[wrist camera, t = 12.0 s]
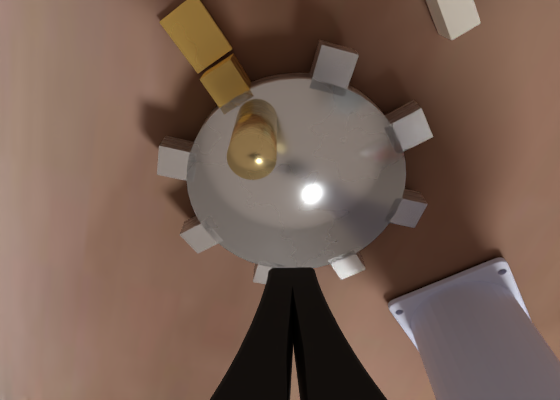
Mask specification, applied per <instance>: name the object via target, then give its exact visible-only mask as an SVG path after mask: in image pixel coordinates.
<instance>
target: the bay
mask: <svg viewBox="0 0 560 400" xmlns="http://www.w3.org/2000/svg"><path fill="white" fill-rule="evenodd" d="M426 3H427V5H428V8H429V11H430V13H431V16H432V19H433V21H434V24H435V26H436V29H437V32H438V34H439V35H441V36H443V37H445V38H447V39H449V40H454V39H455V38H457V37H459V36H460V35H462V34H464V33H465V32H467V31H469V30H470V29H472V28H474V27H475V26H477V25H479V24H480V23H481V22H480V19H479V16H478V13H477V9H476V6H475V3H474V0H426Z"/></svg>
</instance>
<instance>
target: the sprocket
mask: <svg viewBox="0 0 560 400" xmlns="http://www.w3.org/2000/svg"><path fill="white" fill-rule="evenodd" d="M358 56H359V54H358V53H357V52H356V51H355V50H354V49H352V48H349V47H345V46H341V45H337V44H334V43H330V42H326V41H323V40H319V42H318V45H317V49H316V52H315V56H314V59H313V63H312V66H311V70H310V73H284V74H277V75H272V76H268V77H264V78H261V79H258V80H256V81H253V82H251V80H250V79H249V77H248V76H247V74H246V73H245V71H244V69H243V68H242V66H241V65H240V63H239V62H238V60H237V58H236V57H235V55H234V54H231V55H230V56H228V57H227V58H225V59H224V60H222V61H221V62H219V63H218V64H216V65H215V66H213V67H212V68H210V69H209V70H207V71H206V72H204V74H203V75H202V77H201V78H200V81H201V82H202V84H203V85H204V87H205V88H206V90H207V91H208V92H209V94H210V95H211V97H212V98H213V99H214V101H215V102H216V104H217V106H216V107H215V108H214V109H213V111H212V112H211V113H210V115H209V116H208V117H207V119H206V120H205V122H204V124H203V125H202V127H201V129H200V131H199V133H198V135H197V137H196V139H195V141H194V142H193V141H188V140H184V139H179V138H175V137H170V136H165V137H164V139H163V141H162V142H161V144H160V145H159V154H158V167H157V175H161V176H166V177H171V178H176V179H181V180H186V181H187V189H188V194H189V198H190V202H191V205H192V207H193V210H194V212H195V214H196V216H194V217H192V218H190V219H188V220H186V221H185V222H184V224H183V227H182V229H181V232H180V236H181V237H182V238H183V239H184V240H185V241H186V242H187V243H188V244H189V245H190V246H191V247H192V248H193V249H194V250H195V251H196V252H197V253H200V252H202V251H204V250H206V249H208V248H210V247H212V246H214V245H216V244H218V243H219V244H220V245H221V246H223V247H224V248H225V249H227V250H228V251H230V252H231V253H233V254H235V255H236V256H238V257H241V258H243V259H245V260H247V261H250V262H252V263H255V266H254V275H253V282H256V283H262V284H266V282H267V277H268V271H269V270H270V269H271V268H298V267H311V268H316V267H321V266H325V265H329V264H331V266H332V267H333V269H334V270H335V272H336V273H337V274H338V276H339V277H340V279H341V280H342V279H344V278H347V277H349V276H351V275H354V274H356V273H359V272H361V271H363V270H366V268H365V265H364V261H363V258H362V255H361V254H360V252H359V251H360V250H361V249H363V248H365V247H366V246H367V245H368V244H370V243H371V242H372V241H373V240H375V239H376V238H377V237H378V236H379V235H380V234H381V233H382V232H383V230H384V229H385V228H386V227H387V225H388V224H389V223H393V224H398V225H402V226H407V227H412V228H415V226H416V224H417V223H418V221H419V219H420V217H421V215H422V214H423V212H424V210H425V208H426V207H427V205H428V204H427V202H426V200H425V199H424V197H423V196H422V194H421V192H418V191H413V190H409V189H404V188H405V180H406V162H405V157H404V151H406V150H408V149H410V148H412V147H414V146H416V145H418V144H420V143H422V142H424V141H426V140H428V139H430V138H432V137H433V135H432V133H431V130H430V128H429V125H428V123H427V120H426V118H425V115H424V113H423V110H422V108H421V107H420V106H419V105H418V104H417V103H416V102H415V101H414V100H412V101H410V102H408V103H406V104H405V105H403V106H401V107H399V108H397V109H395V110H393V111H391V112H389V113H388V114H386V115H384V114H383V113H382V111H381V110H380V109H379V107H378V106H377V105H376V104H375V103H374V102H373V101H372V100H371V99H369V98H368V97H367V96H366V95H365V94H363V93H362V92H360V91H359V90H357V89H356V88H354V87H352V86H350V85H349V82H350V79H351V76H352V74H353V71H354V68H355V65H356V62H357V59H358Z"/></svg>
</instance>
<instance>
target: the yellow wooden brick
mask: <svg viewBox="0 0 560 400" xmlns="http://www.w3.org/2000/svg"><path fill="white" fill-rule="evenodd" d="M160 24H161V25H162V26H163V28H164V29H165V30H166V32H167V33H168V34H169V36H170V37H171V39H172V40H173V41H174V43H175V44H176V45H177V47H178V48H179V49H180V51H181V52H182V53H183V55H184V56H185V57H186V59H187V60H188V61H189V63H190V64H191V65H192V67H193V68H194V69H195V71H196V72H197V73H200V72H201V71H202V70H204V69H205V68H207V67H208V66H209V65H211V64H212V63H214V62H215V61H216V60H218V59H219V58H221V57H222V56H223V55H225V54H226V53H227V52H229V51H230V50H232V49H233V48H232V46H231V45H230V43H229V42H228V40H227V39H226V37H225V36H224V34H223V33H222V31H221V30H220V28H219V27H218V25H217V24H216V22H215V21H214V19H213V18H212V16H211V15H210V13H209V12H208V10H207V9H206V7H205V6H204V4H203V3H202V1H201V0H186V1H185V2H183V3H182V4H181V5H180V6H178V7H177V8H176V9H175V10H173V11H172V12H171V13H170V14H168V15H167V16H166V17H165V18H163V19H162V20H161V21H160Z"/></svg>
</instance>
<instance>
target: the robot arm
mask: <svg viewBox="0 0 560 400" xmlns="http://www.w3.org/2000/svg"><path fill="white" fill-rule="evenodd" d="M388 307H389V310H390V312H391V313H392V314H393V316H394V317H395V319H396V320H397V321H398V323H399V324H400V326H401V327H402V328H403V330H404V331H405V333H406V334H407V335H408V337H409V338H410V340H411V341H412V342H413V344H414V345H415V347H416V348H417V349H418V351H419V353H420V355H421V358H422V361H423V364H424V367H425V369H426V372H427V375H428V378H429V381H430V383H431V386H432V389H433V392H434V394H435V397H436V400H560V361H559V360H558V358H557V357H556V356H555V354H554V353H553V351H552V350H551V348H550V347H549V346H548V344H547V343H546V341H545V340H544V338H543V337H542V336H541V334H540V333H539V331H538V330H537V328H536V327H535V326H534V324H533V323H532V321H531V318H530V316H529V314H528V311H527V309H526V306H525V304H524V301H523V299H522V297H521V294H520V292H519V289H518V287H517V284H516V282H515V280H514V277H513V275H512V272H511V270H510V267H509V265H508V263H507V262H506V260H505V259H504V258H502V257H498V258H494V259H492V260H489V261H487V262H485V263H482V264H480V265H477V266H475V267H472V268H470V269H467V270H465V271H462V272H460V273H457V274H455V275H452V276H450V277H447V278H445V279H443V280H440V281H438V282H435V283H433V284H430V285H428V286H425V287H423V288H420V289H418V290H415V291H413V292H410V293H408V294H405V295H403V296H401V297H398V298H396V299H393V300H391V301H390V302H389V303H388ZM293 346H294V354H295V362H296V370H297V378H298V385H299V393H300V400H387V399H386V397H385V396H384V395H383V393H382V392H381V391H380V389H379V388H378V387H377V385H376V384H375V383H374V381H373V380H372V378H371V377H370V376H369V374H368V373H367V371H366V370H365V368H364V367H363V365H362V364H361V362H360V361H359V359H358V358H357V356H356V355H355V353H354V352H353V350H352V348H351V347H350V345H349V343H348V342H347V340H346V338H345V337H344V335H343V333H342V331H341V330H340V328H339V326H338V324H337V322H336V320H335V318H334V316H333V314H332V313H331V311H330V309H329V306H328V304H327V302H326V300H325V298H324V296H323V293H322V291H321V288H320V286H319V283H318V280H317V277H316V274H315V270H314V269H313V268H311V267H298V268H271V269H270V270H269V271H268V277H267V282H266V285H265V289H264V292H263V295H262V298H261V301H260V304H259V306H258V309H257V311H256V314H255V316H254V319H253V321H252V324H251V326H250V328H249V330H248V332H247V334H246V336H245V338H244V341H243V343H242V345H241V347H240V349H239V351H238V353H237V355H236V357H235V358H234V360H233V362H232V364H231V366H230V367H229V369H228V371H227V373H226V374H225V376H224V378H223V380H222V381H221V383H220V384H219V386H218V388H217V389H216V391H215V392H214V394H213V395H212V397H211V399H210V400H290V390H291V373H292V356H293Z"/></svg>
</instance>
